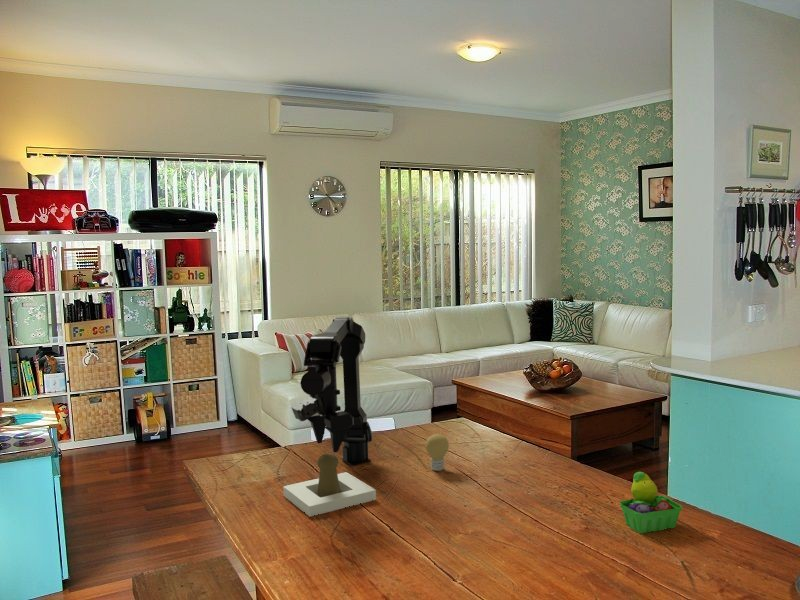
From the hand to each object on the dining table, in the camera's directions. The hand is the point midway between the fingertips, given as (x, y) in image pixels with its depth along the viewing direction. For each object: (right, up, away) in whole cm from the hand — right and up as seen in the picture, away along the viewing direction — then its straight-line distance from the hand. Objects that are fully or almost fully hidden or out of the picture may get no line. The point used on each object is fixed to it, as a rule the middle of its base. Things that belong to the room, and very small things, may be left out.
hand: (327, 447), depth 169 cm
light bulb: (+29, -11, +20) cm, 36 cm away
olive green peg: (0, -13, +1) cm, 13 cm away
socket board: (0, -13, +1) cm, 13 cm away
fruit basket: (+73, -13, -20) cm, 77 cm away
